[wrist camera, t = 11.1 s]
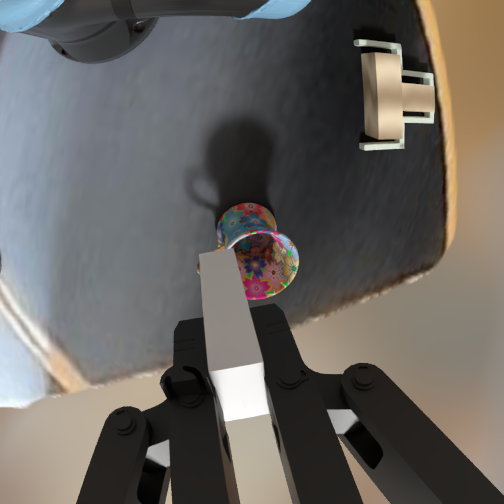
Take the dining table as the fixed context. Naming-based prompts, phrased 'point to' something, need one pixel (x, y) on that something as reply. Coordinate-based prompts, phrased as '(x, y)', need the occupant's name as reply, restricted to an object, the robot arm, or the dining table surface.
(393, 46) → the jig
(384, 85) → the t block
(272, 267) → the mug
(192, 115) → the dining table surface
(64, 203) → the dining table surface
